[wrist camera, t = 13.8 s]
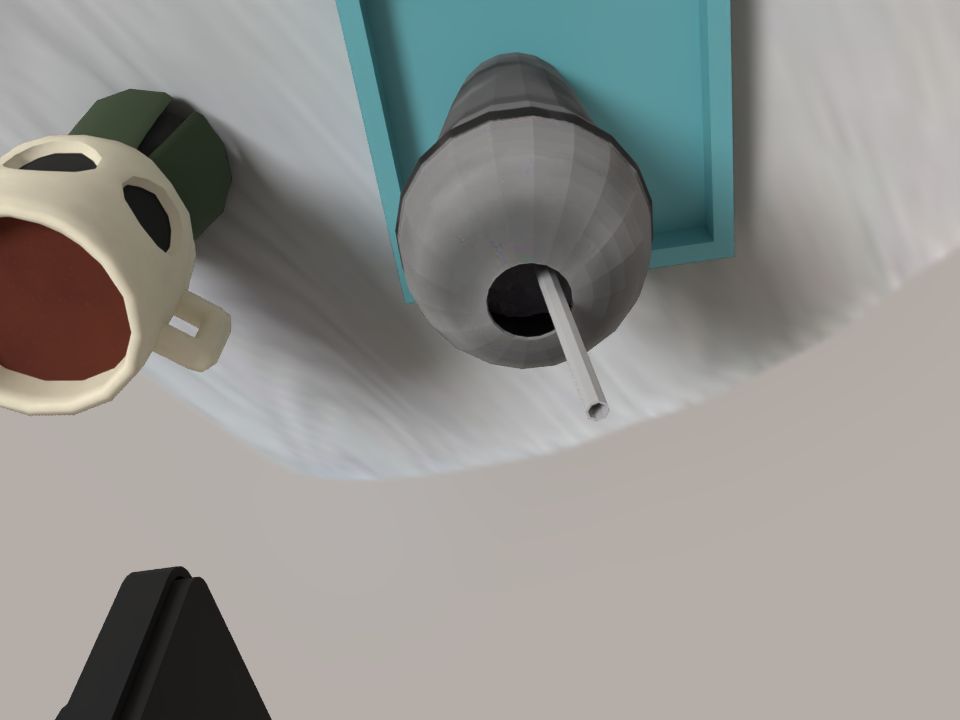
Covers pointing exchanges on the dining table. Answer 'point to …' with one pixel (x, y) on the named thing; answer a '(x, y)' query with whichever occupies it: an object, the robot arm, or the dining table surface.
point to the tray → (592, 75)
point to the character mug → (106, 253)
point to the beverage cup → (525, 225)
